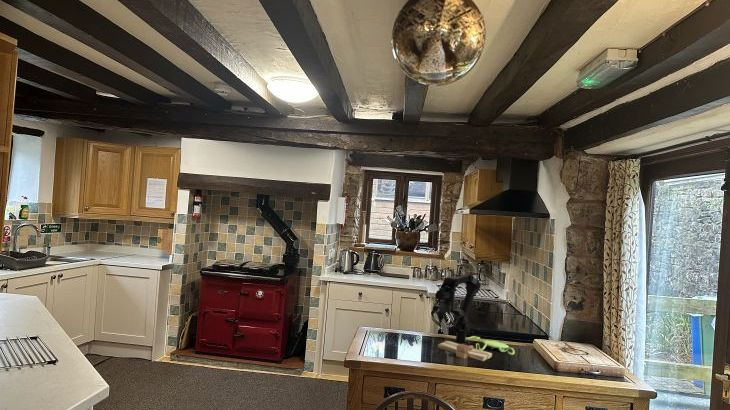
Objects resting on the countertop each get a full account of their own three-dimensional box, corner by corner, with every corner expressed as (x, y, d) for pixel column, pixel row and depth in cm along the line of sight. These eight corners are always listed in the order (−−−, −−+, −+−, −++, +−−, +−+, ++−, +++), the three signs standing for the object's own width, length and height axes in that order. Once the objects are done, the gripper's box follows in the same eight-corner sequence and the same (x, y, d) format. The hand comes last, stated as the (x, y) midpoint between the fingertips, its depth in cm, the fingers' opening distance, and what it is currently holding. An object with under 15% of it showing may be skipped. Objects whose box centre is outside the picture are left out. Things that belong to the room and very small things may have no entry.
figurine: (465, 342, 292) (466, 334, 292) (507, 346, 292) (508, 338, 292) (471, 352, 274) (472, 342, 274) (516, 356, 274) (517, 346, 274)
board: (447, 344, 284) (447, 340, 284) (491, 356, 267) (492, 353, 267) (437, 347, 275) (438, 344, 275) (482, 361, 257) (483, 357, 257)
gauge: (467, 351, 273) (468, 340, 273) (476, 353, 270) (476, 343, 270) (455, 356, 261) (456, 345, 261) (463, 359, 258) (464, 348, 258)
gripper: (428, 297, 281) (426, 323, 281) (457, 303, 270) (454, 330, 270) (438, 295, 290) (435, 320, 290) (466, 301, 278) (463, 327, 278)
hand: (446, 324), depth 282 cm, fingers open, 9 cm apart
